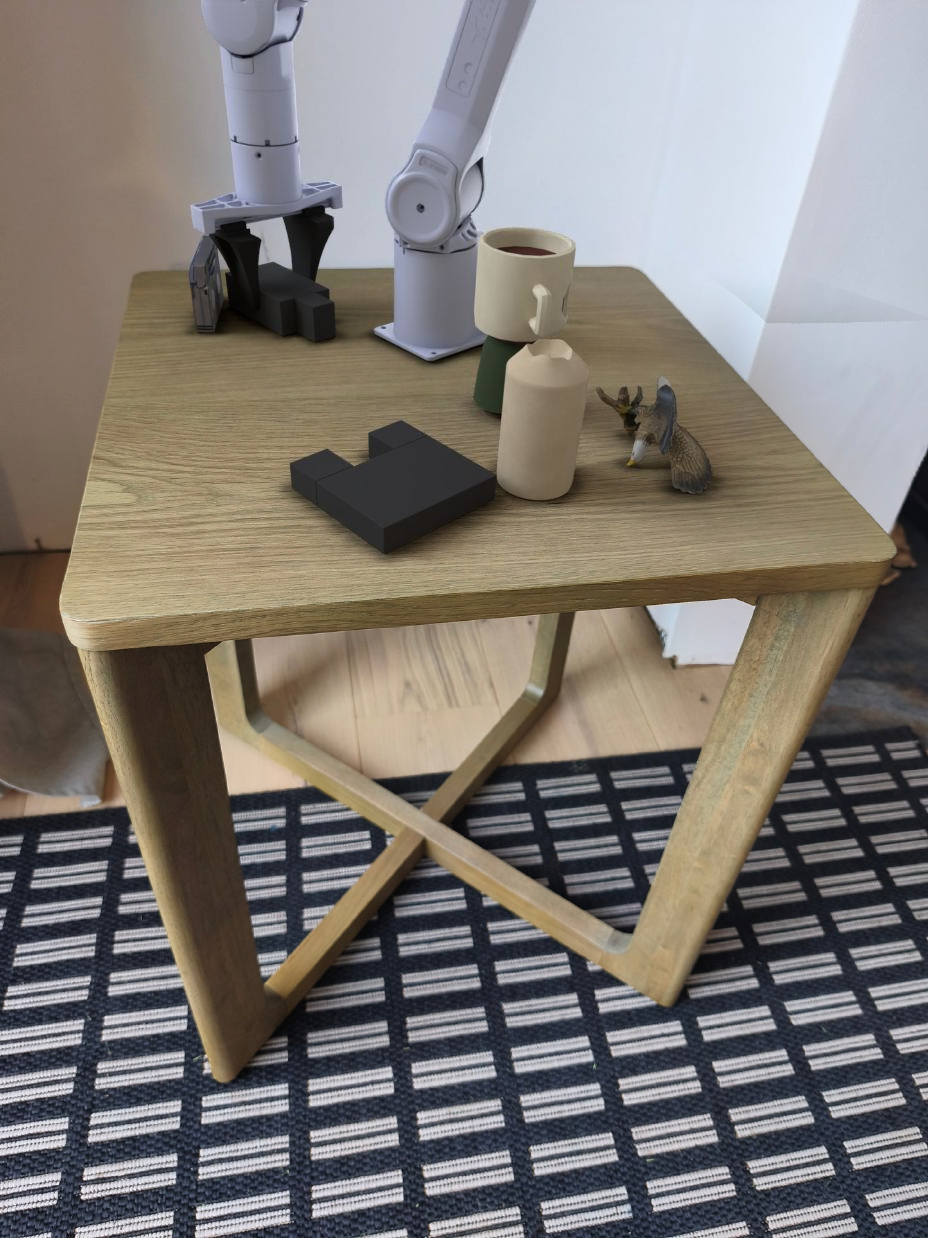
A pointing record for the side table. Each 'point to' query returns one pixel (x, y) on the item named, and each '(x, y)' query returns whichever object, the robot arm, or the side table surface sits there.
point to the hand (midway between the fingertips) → (278, 299)
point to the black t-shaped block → (288, 303)
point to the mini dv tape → (206, 285)
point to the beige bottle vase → (541, 420)
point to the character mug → (517, 299)
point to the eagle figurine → (663, 435)
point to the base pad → (394, 486)
